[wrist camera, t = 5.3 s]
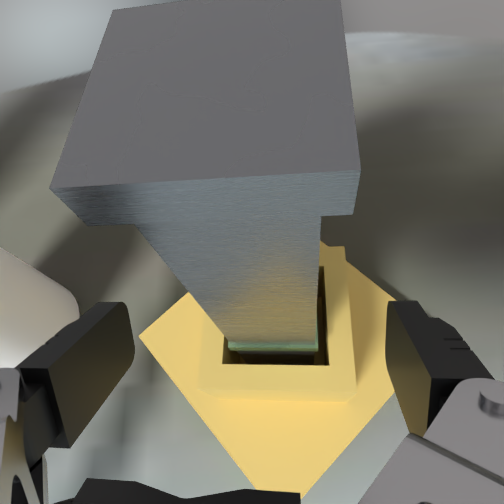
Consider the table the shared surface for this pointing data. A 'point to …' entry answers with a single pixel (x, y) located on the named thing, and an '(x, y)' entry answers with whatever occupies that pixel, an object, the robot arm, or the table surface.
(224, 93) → the column
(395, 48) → the table surface
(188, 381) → the stand base
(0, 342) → the pill bottle
